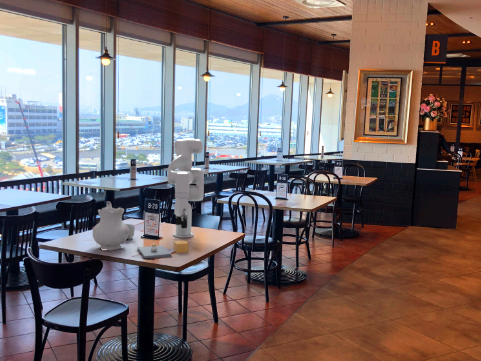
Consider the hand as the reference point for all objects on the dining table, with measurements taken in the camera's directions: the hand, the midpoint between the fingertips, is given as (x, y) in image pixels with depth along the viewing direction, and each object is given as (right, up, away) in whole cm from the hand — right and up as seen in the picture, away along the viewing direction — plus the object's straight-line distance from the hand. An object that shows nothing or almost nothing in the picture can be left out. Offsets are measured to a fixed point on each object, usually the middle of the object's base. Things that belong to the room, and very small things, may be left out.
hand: (181, 226), depth 255 cm
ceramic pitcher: (-40, -12, +5) cm, 42 cm away
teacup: (-38, -10, +25) cm, 46 cm away
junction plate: (-14, -14, -4) cm, 20 cm away
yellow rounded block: (-1, -14, +2) cm, 14 cm away
